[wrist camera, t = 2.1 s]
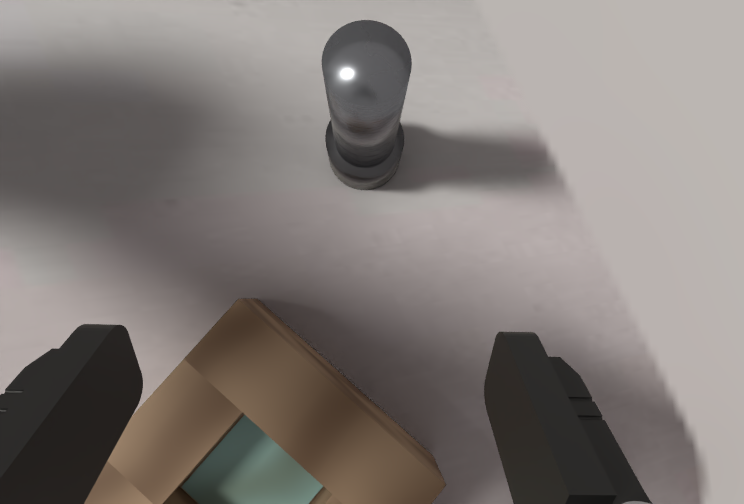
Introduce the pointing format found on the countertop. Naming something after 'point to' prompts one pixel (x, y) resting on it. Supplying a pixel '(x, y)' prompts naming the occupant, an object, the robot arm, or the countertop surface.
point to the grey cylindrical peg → (365, 101)
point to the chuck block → (263, 430)
